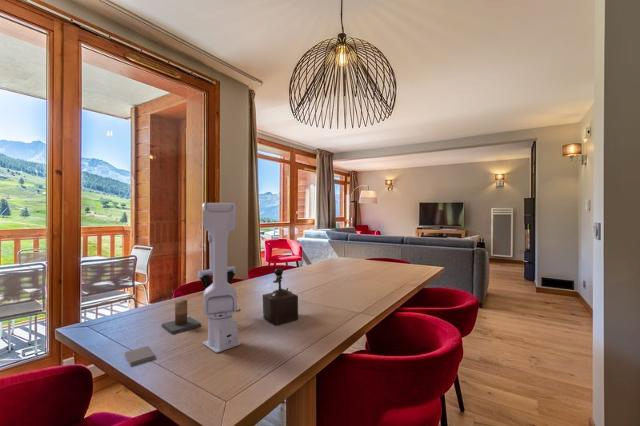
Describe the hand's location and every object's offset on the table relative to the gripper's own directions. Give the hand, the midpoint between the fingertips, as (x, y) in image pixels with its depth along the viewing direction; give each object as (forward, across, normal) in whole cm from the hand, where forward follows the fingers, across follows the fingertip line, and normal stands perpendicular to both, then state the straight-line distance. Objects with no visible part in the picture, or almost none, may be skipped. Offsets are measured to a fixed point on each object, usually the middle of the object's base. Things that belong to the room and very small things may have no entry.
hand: (217, 292), depth 115 cm
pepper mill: (+10, -17, +16) cm, 25 cm away
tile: (+10, +30, +9) cm, 33 cm away
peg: (+9, +13, -2) cm, 16 cm away
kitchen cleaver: (+10, -10, -14) cm, 20 cm away
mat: (+10, +13, -2) cm, 16 cm away
